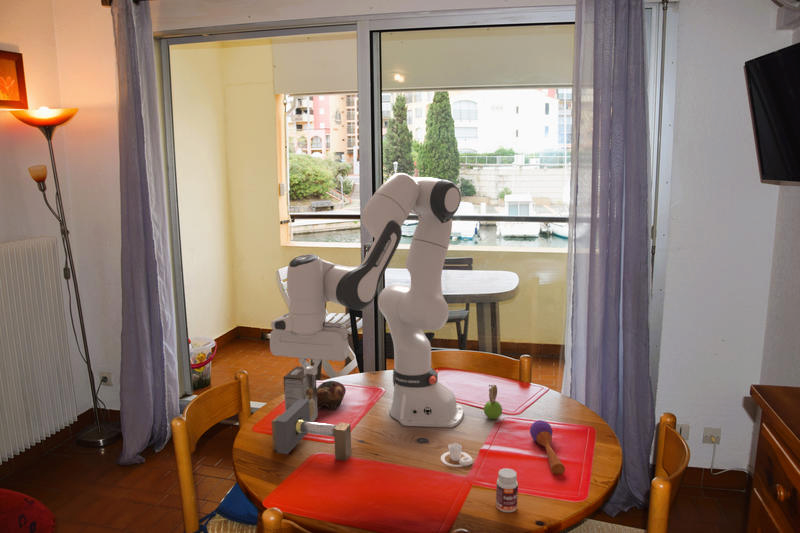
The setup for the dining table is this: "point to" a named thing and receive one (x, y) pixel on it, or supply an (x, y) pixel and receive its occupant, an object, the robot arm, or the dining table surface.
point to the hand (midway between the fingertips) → (310, 373)
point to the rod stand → (337, 431)
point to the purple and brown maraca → (546, 444)
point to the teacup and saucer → (457, 456)
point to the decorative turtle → (330, 394)
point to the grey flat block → (291, 426)
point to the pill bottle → (507, 490)
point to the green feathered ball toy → (492, 404)
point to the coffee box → (301, 390)
